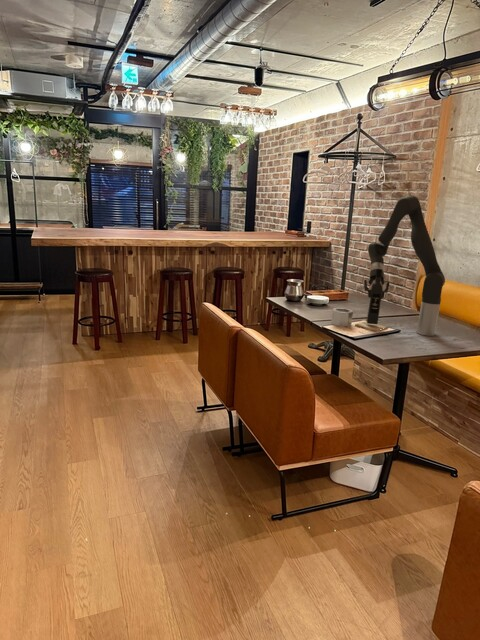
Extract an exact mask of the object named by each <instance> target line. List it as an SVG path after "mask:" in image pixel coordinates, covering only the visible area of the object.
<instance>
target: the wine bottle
mask: <svg viewBox="0 0 480 640" xmlns="http://www.w3.org/2000/svg"><path fill="white" fill-rule="evenodd" d="M381 274H382V269H376V279H375V282H374V283H373V284H372V286H371V297H370V298H368V299H369V300H368V307H367V316H366V321H367V323H368V324H379V317H380V310H381V302H382V299H381V297H382V290H383V288H384V286H383V287H382V284H381V283H380V281H381Z"/></svg>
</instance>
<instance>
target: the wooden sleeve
mask: <svg viewBox="0 0 480 640" xmlns="http://www.w3.org/2000/svg"><path fill="white" fill-rule="evenodd" d="M353 314H354V311H353V310H352V309H349V308H346V307H345V308H344V307H334V308H332V315H331V324H332V326H336V327H340V326H349V327H351V326H352V323H353V322H352V321H353Z"/></svg>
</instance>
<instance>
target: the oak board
mask: <svg viewBox="0 0 480 640" xmlns="http://www.w3.org/2000/svg"><path fill="white" fill-rule="evenodd" d="M356 326H358V327H357V328H360V327H363V328H362V329H364V328H367V329H371V330H375V331H377V330H380V329H383V328H387V329H388V328H389V326H388V325H384V324H380V323H378V324H368V323H367V320H366V321H362V322H358V323H355V324H354V327H356ZM367 329H366V330H367ZM371 330H370V331H371ZM375 331H374V332H375ZM380 331H381V330H380ZM377 332H378V331H377Z"/></svg>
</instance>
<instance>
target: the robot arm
mask: <svg viewBox="0 0 480 640" xmlns="http://www.w3.org/2000/svg"><path fill="white" fill-rule="evenodd" d="M407 215H408V217H409V220H410V224H411V232H410V242H411V245H412V248H413V249H414V253H415V255H416V256H417V258H418V259H419V261H420V263H421V265H422V267H423V270H424V273H425V278H424V280H423V285H422V286H423V287H422V293H421V303H420V309H419V310H420V311H419V314H418V322H417V326H416V333H417V334H418V335H422V336H427V337H428V336H429V337H433V336H435V335H436V329H437V323H438V318H439V314H440V313H439V312H440V307H441V302H442V293H443V292H442V290H443V286H445V283H446V277H445V275H444V274H443V271H442V270H441V269H442V268H441V267H440V265H439V262H438V259H437V256H436V255H437V254H436V252H435V248H434V245H433V242H432V238H431V236H430V234H429V231H428V228H427V225H426V221H425V218H424V214H423V211H422V205H421V203H420V200H419V198H418V197H417V196H415V195H409V196H408V195H407V196H404V197H400V198H399V199H398V201H397V202H396V204H395V206H394V208H393V210H392V213H391V215H390V217H389V219H388V221H387V223H386V226H385V227H384V228H383V230H382V231H381V232H380V234H379V236H378V242H376V241H373V242H371V243H369V245H368V247H367V253H368V256H369V259H370V268H369V280H367V279H364V280H363V288H364V291H365V292H367V297H368V299H370V297H371V286H372V284H373V283H374V282H375V279H376V269H382V274H381V281H380V283H381V284H382V287H383V290H382V297H381V300H382V299H384V297H385V294H387V293H388V291H389V286H390V283H391V282H390V281H385V280H384V278H385V266H384V264H385V263H384V262H385V261H384V257H385V256H386V255H387V253H388V251H389V250H388V249H389V246H390V244H391V242H392V241H393V240H394V238H395V236H396V235H397V233H398V229H399V224H400V223H401V221H402V220H403V218H405V216H407ZM368 285H370V286H369V287H368ZM384 286H385V288H384Z"/></svg>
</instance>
